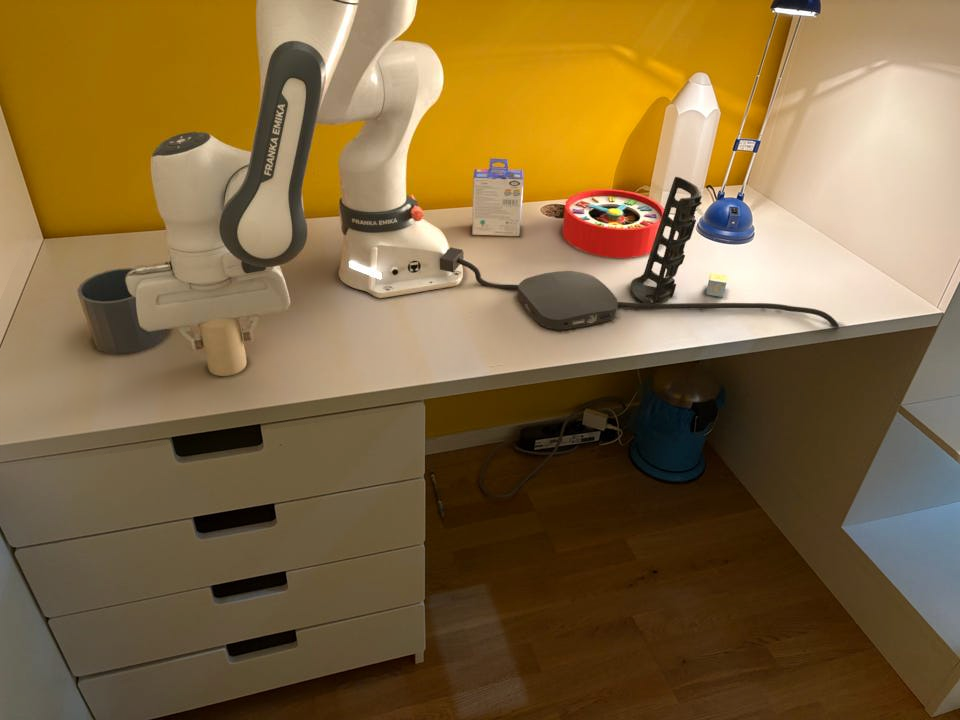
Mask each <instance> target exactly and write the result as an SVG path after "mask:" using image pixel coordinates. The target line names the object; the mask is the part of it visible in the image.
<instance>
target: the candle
mask: <svg viewBox="0 0 960 720" xmlns="http://www.w3.org/2000/svg"><path fill="white" fill-rule="evenodd" d="M197 326H198V330H199V333H200V335H201V339H202V343H203V348H202V349H203V351H204V352H203V353H204V356H205V359H206V365H207V369H208V371H209V372H210V373H211V374H212V375H215V376H220V377H228V376H233V375H236V374H239V373H240V372H242V371H243V370H244V369H245V368H246V367H247V362H248V361H247V353H246V350H245V345H244V338H243V332H242V327H241V323H240V319H239V318H233V319H223V318H217V319H213V320H210V321H209V322H206V323H201V324H197Z"/></svg>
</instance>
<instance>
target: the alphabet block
mask: <svg viewBox="0 0 960 720" xmlns="http://www.w3.org/2000/svg"><path fill="white" fill-rule="evenodd" d="M728 276H729V275H727V274H721V273H715V272H710V274H709V278H708V281H707V286H706V293H705V294H706V295H708V296H713V297H720V298H723V297H724V295H725V291H726V286H727V281H728Z"/></svg>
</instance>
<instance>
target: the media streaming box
mask: <svg viewBox="0 0 960 720" xmlns="http://www.w3.org/2000/svg"><path fill="white" fill-rule="evenodd" d="M518 285H519V286H518V290H517V299H518V301H519V302H520V303H521V305H522V306H523V307H524V309H525V310H526V311H527V313H528V314H529V315H530V316H531V317H532V318H533V319H534V320H535V321H536V322H537V323H538V324H539V325H540V326H542V327H544V328H547V329H551V330H557V331H558V330H559V331H561V330H569V329H575V328H576V329H577V328H581V327H587V326H591V325H595V324H596V325H597V324H601V323H604V322H605V323H606V322H609V321H611V320H613V319H615V317H616V316H617V312H618V307H617V306H618V302H619V301H618V299H617V297H616V296H615V294H614V292H612V290H610V289H609V287H607V286H606V284H605V283H603V282H602V281H601V280H600V279H598V278H597V277H595V276H593V275H592V274H589V273H586V272H580V271H575V270H559V271H558V270H557V271H551V272H545V273H539V274H536V275H533V276H530V277H526V278H524V279H523V280H522V281H520V282H519V284H518Z"/></svg>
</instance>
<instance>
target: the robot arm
mask: <svg viewBox="0 0 960 720" xmlns="http://www.w3.org/2000/svg"><path fill="white" fill-rule="evenodd" d="M417 5H418V0H256V6H255V8H256V9H255V26H256V27H255V31H256V34H255V35H256V46H257V56H258V65H259V78H260V79H259V80H260V101H259V110H258V115H257V119H256V120H257V121H256V125H255V130H254V135H253V136H254V137H253V141H252V145H251V150H250V151H249V150H244V149H241V148H238V147H235V146H232V145H229V144H227V143H224V142H223V141H221V140H219V139H217V138H216V137H215V136H213V135H212V134H210V133H207V132H202V131H189V132H184V133H180V134H176V135H173V136H171V137H169V138H167V139H165V140H163V141H162V142H160V144H158V145H157V146H156V147H155V149H154V151H153V152H152V154H151V157H150V174H151V183H152V188H153V195H154V199H155V203H156V207H157V211H158V213H159V216H160V218H161V219H162V221H163V223H164V227H165V235H164V236H165V237H164V238H165V239H164V240H165V244H166V248H167V252H168V256H169V261H165V262H157V263H153V264H148V265H145V264H141V265H137V266H134V268H135V269H134V270H132V271H130V272H129V273H128V274H127V275H126V278H125V282H126V285H127V289H128V291H129V293H130V294H131V295H132V296H134V297H136V309H137V316H138V321H139V325H140V327H141V328H143V329H144V330H146V331H148V332H151V331H157V330H163V329H168V330H169V329H175V328H178V332H179V334H180V335H181V336H183V337H184V338H185V339H186V340H188V341H189V342H190V345H191V349H192V351H197V350H202V349H204V348H203V343H202V339H201V335H200V332H198V333H197V332H196V333H194V331H193V330H191V328H190V326H194V325H195V326H196V325H198V324H201V323H206V322H209V321H210V320H213V319H217V318H223V319H233V318H246V317H247V318H248V322H247V324H246V325H240V328H241V333H242V339H243V342H249V341H254V340H255V335H254V331H255V329H256V327H257V325H258V323H259V321H260V319H259V315H264V314H270V313H278V312H283V311H286V310H288V308H289V307H290V305H291V298H290V297H291V296H290V294H289V290H288V286H287V282H286V280H285V276H284V274H283V271H282V268H281V266H282V265H284V264H288V263H289V262H291V261H293V260H294V259H295V258H296V257H298V256H299V255H300V254H301V252H302V251H303V250H304V248H305V246H306V243H307V240H308V239H307V238H308V223H307V219H306V215H305V210H304V200H303V186H304V181H305V176H306V175H305V174H306V171H307V167H308V163H309V162H308V161H309V158H310V153H311V148H312V144H313V138H314V134H315V130H316V125H326V126H341V125H345V124H351V123H357V122H363V125H362V127H361V129H360V130H359V131H358V133H357V134H356V135H355V137H353V138H352V139H351V140H350V141H349V142H347V143H346V144H345V145H344V147H343V148H342V149H341V151H340V153H339V157H338V163H337V164H338V174H339V186H340V199H339V203H338V204H339V206H338V213H339V214H338V215H339V223H340V229H341V232H342V251H341V260H340V265H339V270H338V277H339V279H340V281H342V283H344V284H345V285H347V286H348V287H351V288H353V289H355V290H360V291H364V292H366V293H368V294H370V295H372V296H373V297H375V298H378V299H383V298H391V297H397V296H401V295H403V296H404V295H408V294H415V293H421V292H426V291H432V290H439V289H444V288H451V287H456V286H458V285H460V283H461V282H462V280H463V277H464V269H463V266H464V267H466V268H467V269H469V270H471V271H472V272H473V273H474V276H475V280H476V281H477V283H478V284H479V285H481V286H483V287H486V288H493V289H499V290H508V291H518V286H519V284H499V283H491V282H489V281H487V280H484V279H483V278H482V277H481V272H480V269H479V268H478V266H477V267H476V265H474V264H473V263H471V262H470V261H467V260H465V259H464V249H461V248H455V247H451V246H450V245H449V242H448V239H447V238H446V236H445V234H444V232H442V230H441V229H440V228H438V227H437V226H435V225H433V224H432V223H430V222H429V221H427V220H426V219H424V212H423V209H422V207H420V206H419V202H418V201H417V200H416V198H415V196H414V195H413V194H412V193H411V194H410V196H409V195H408V194H407V162H408V153H409V150H410V144H411V141H412V139H413V136H414V133H415V132H416V129H417V127H418V125H419V123H420V122H421V120H422V118H423V117H424V115H425V114H426V113H427V111H429V109H430V108H431V107H432V106H433V105H434V104H436V102H437V101H438V99H439V98H440V96H441V93H442V91H443V86H444V69H443V65H442V62H441V60H440V58H439V56H438V54H437V53H436V51H434V49H433V48H432V47H431V46H430V45H429V44H426V43H422V42H416V41H409V40H400V39H399V40H396V39H397V38H399V37H400V36H402V35H403V34H404V33H405V32H406V31H407V30H408V29H409V27H410V26H411V24H412V23H413V21H414V18H415V16H416V11H417ZM135 272H136V274H133V273H135ZM617 308H623V309H625V308H626V309H645V310H648V309H650V310H679V309H680V310H683V309H684V310H685V309H686V310H687V309H688V310H689V309H691V310H692V309H765V310H766V309H768V310H780V311H787V312H794V313H800V314H801V313H803V314H810V315H815V316H817V317H821V318H822V319H824V320H826V321H827V322H828V323H829V324H830V325H831V326H832V327H833V328H839V327H840V326H839V323H838V322H837V320H836V319H835V318H834V317H832V316H831V314H829V313H827V312H825V311H823V310H820V309H817V308H812V307H804V306H796V305H795V306H794V305H788V304H781V303H773V302H772V303H770V302H684V303H683V302H681V303H679V302H678V303H677V302H676V303H674V302H672V303H667V302H664V303H655V304H652V303H639V302H630V301H629V302H627V301H618V306H617Z"/></svg>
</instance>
